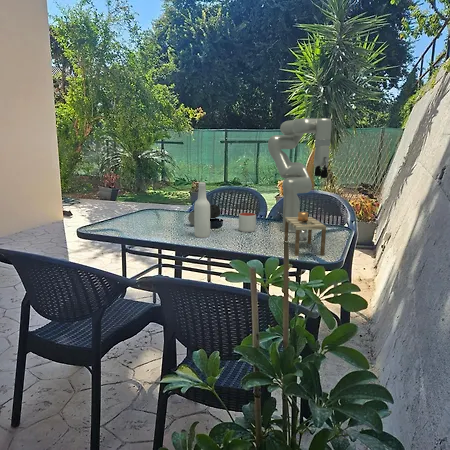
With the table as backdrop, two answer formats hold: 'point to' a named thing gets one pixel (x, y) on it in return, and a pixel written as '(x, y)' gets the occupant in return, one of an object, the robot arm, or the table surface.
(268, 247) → the table surface
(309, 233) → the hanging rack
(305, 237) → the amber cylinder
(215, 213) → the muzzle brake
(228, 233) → the table surface
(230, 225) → the table surface
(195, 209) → the alcohol
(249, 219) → the cup
